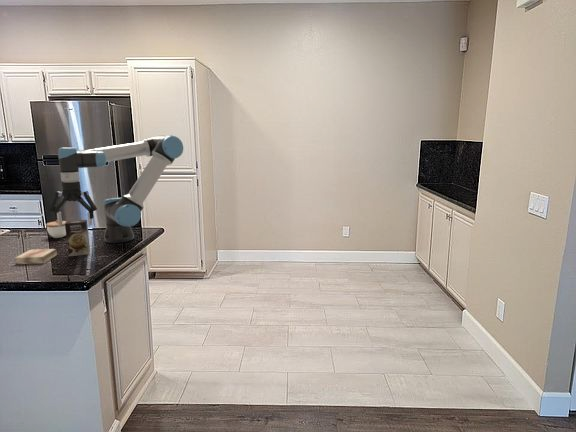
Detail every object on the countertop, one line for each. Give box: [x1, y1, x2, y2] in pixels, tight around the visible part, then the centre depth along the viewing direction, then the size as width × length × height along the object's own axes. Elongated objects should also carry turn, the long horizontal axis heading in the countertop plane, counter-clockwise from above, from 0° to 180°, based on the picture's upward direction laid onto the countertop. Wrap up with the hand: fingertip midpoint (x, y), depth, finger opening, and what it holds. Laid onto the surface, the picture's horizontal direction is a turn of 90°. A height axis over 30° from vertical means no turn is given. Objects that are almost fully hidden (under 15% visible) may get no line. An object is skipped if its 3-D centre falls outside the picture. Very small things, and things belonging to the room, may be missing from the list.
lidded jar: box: [45, 219, 67, 239], centre depth 216 cm, size 11×11×9 cm
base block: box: [14, 248, 58, 265], centre depth 177 cm, size 12×12×3 cm
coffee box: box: [65, 219, 91, 257], centre depth 184 cm, size 9×6×16 cm
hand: (75, 225), depth 183 cm, fingers open, 13 cm apart
